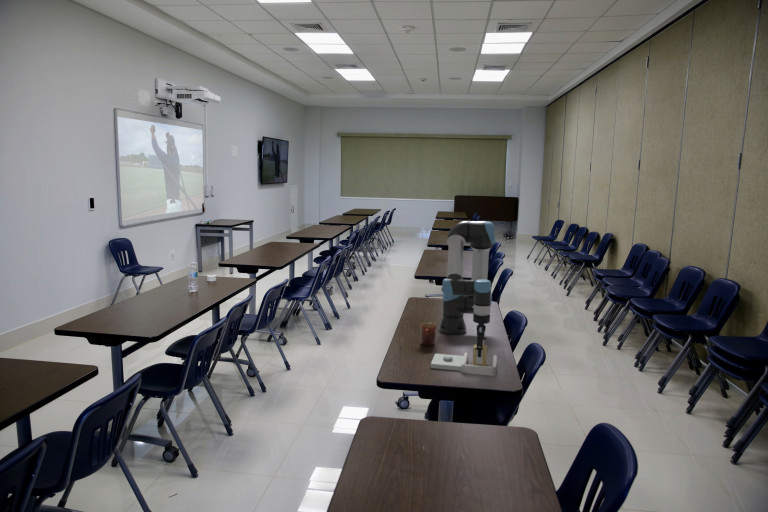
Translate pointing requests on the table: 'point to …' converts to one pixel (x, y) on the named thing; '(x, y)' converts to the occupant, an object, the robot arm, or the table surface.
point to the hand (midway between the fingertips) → (480, 358)
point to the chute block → (484, 359)
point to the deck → (462, 364)
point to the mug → (428, 333)
